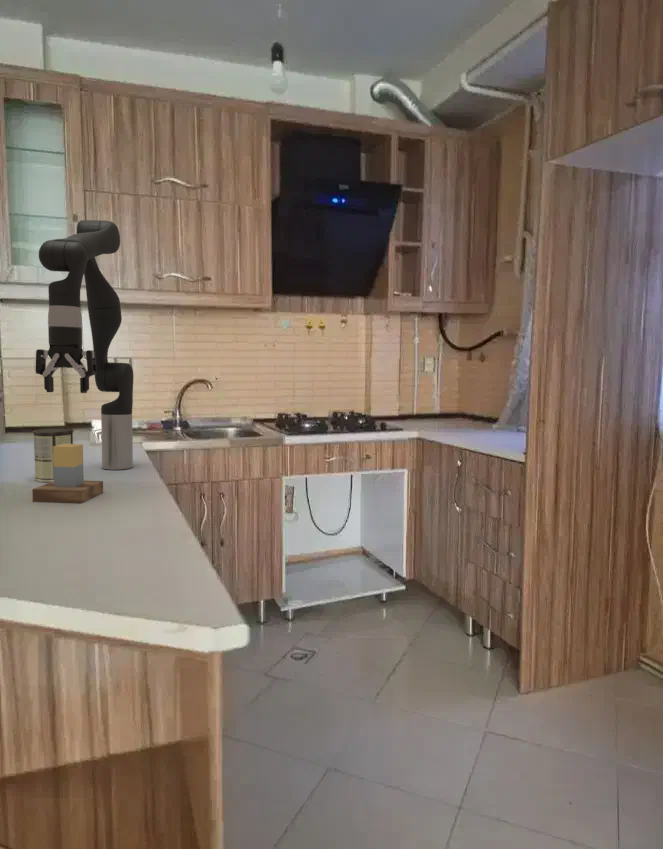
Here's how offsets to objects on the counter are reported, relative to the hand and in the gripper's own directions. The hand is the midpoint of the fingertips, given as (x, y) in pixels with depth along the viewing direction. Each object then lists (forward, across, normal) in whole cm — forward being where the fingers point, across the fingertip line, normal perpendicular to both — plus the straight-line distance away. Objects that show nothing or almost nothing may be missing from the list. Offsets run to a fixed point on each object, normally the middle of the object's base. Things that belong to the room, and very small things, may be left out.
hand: (66, 392), depth 148 cm
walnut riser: (+26, 0, 0) cm, 26 cm away
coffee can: (+26, +15, -21) cm, 37 cm away
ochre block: (+18, 0, 0) cm, 18 cm away
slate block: (+23, 0, 0) cm, 23 cm away
